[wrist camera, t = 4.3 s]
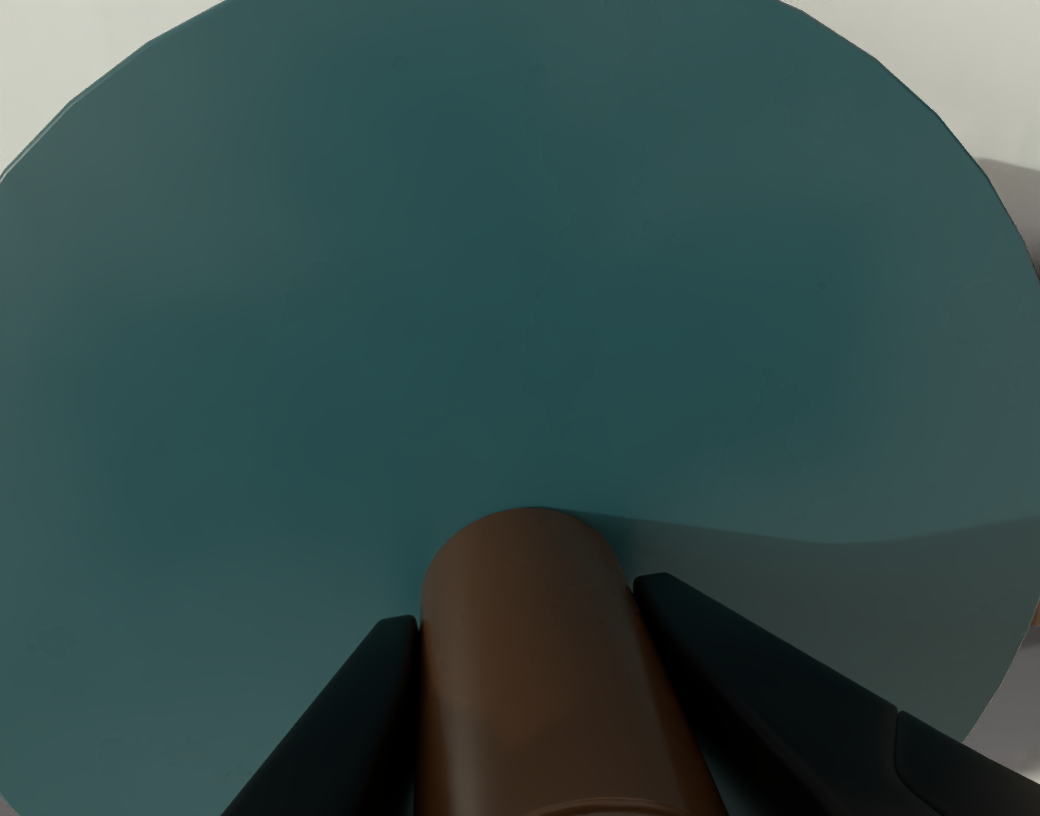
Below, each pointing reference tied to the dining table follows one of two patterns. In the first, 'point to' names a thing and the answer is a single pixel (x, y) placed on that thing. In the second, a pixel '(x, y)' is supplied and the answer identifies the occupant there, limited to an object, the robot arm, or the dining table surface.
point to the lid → (495, 394)
